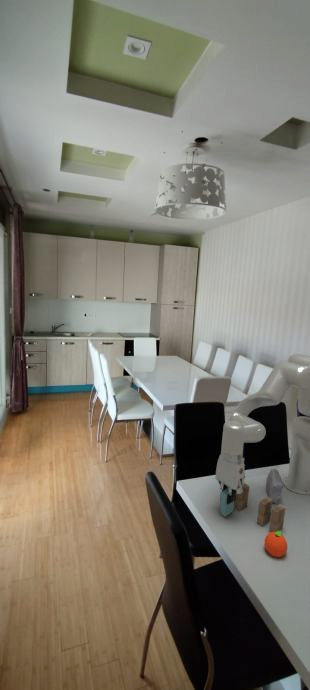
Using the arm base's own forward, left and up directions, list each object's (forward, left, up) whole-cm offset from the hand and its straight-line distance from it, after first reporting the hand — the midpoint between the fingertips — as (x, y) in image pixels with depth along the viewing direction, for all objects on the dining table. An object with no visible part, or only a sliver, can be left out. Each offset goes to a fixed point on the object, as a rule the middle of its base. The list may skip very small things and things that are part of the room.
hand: (226, 500), depth 123 cm
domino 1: (-1, 0, -5) cm, 5 cm away
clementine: (+1, +21, -6) cm, 22 cm away
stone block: (-25, +4, -6) cm, 26 cm away
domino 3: (-8, +1, -6) cm, 10 cm away
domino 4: (-8, +11, -6) cm, 15 cm away
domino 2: (-8, -4, -6) cm, 11 cm away
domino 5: (-8, +16, -6) cm, 19 cm away
